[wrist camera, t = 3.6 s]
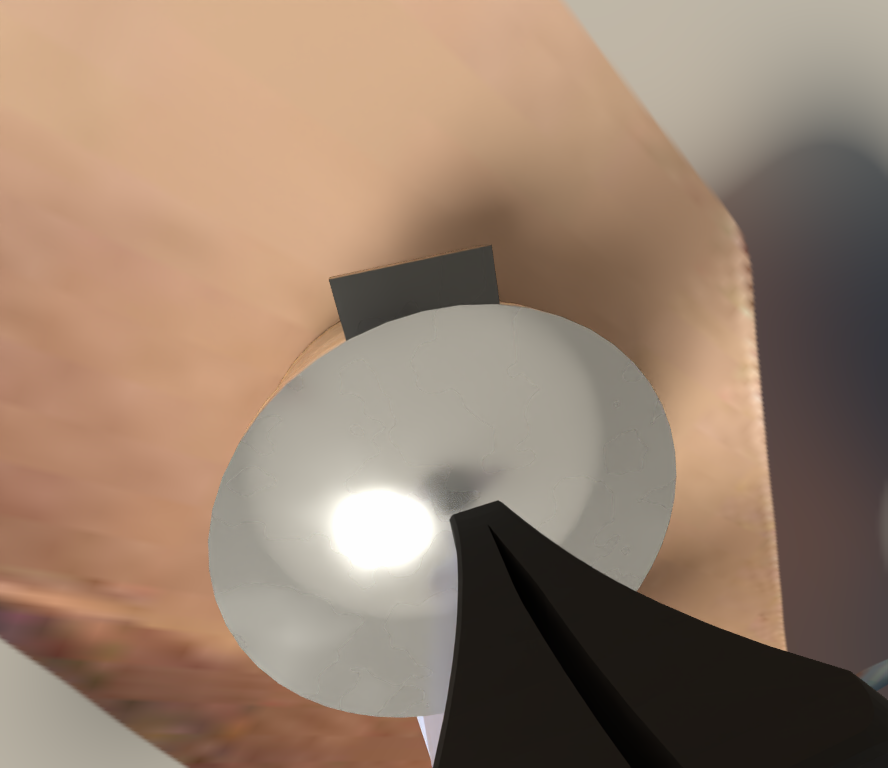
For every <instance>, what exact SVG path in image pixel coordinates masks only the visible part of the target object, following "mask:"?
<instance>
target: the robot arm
mask: <svg viewBox="0 0 888 768" xmlns="http://www.w3.org/2000/svg"><path fill="white" fill-rule="evenodd" d="M449 521H450V525H451V530H452V534H453V539H454V543H455V547H456V552H457V568H458V600H457V622H456V634H455V644H454V653H453V661H452V668H451V675H450V682H449V688H448V695H447V701H446V706H445V712H444V713H442V714H436V715H430V716H417V719H418V722H419V725H420V728H421V731H422V734H423V737H424V740H425V743H426V746H427V749H428V752H429V755H430V758H431V763H432V768H888V700H887V699H886V698H885V697H883V696H882V695H881V694H879V693H878V692H877V691H876V690H874V689H873V688H872V687H870V686H869V685H868V684H866V683H865V682H864V681H863V680H861V679H860V678H859V677H857V676H856V675H855V674H853V673H852V672H851V671H848V670H845V669H842V668H838V667H835V666H832V665H829V664H825V663H822V662H819V661H816V660H812V659H809V658H806V657H803V656H799V655H796V654H793V653H790V652H786V651H783V650H780V649H777V648H773V647H770V646H767V645H765V644H762V643H759V642H756V641H753V640H751V639H748V638H745V637H742V636H740V635H737V634H734V633H731V632H729V631H726V630H723V629H720V628H718V627H715V626H713V625H710V624H708V623H705V622H703V621H701V620H698V619H696V618H694V617H691V616H689V615H687V614H684V613H682V612H680V611H677V610H675V609H673V608H670V607H668V606H666V605H663V604H661V603H659V602H657V601H655V600H653V599H651V598H648V597H646V596H644V595H642V594H640V593H638V592H636V591H634V590H633V589H631V588H629V587H627V586H625V585H623V584H621V583H619V582H617V581H616V580H614V579H612V578H610V577H608V576H607V575H605V574H603V573H601V572H600V571H598V570H596V569H595V568H593V567H591V566H590V565H588V564H587V563H585V562H583V561H582V560H580V559H578V558H577V557H575V556H574V555H572V554H571V553H569V552H568V551H566V550H565V549H563V548H562V547H560V546H559V545H557V544H556V543H555V542H553V541H552V540H550V539H549V538H547V537H546V536H545V535H543V534H542V533H540V532H539V531H538V530H536V529H535V528H534V527H532V526H531V525H530V524H528V523H527V522H526V521H525V520H523V519H522V518H521V517H519V516H518V515H517V514H516V513H514V512H513V511H512V510H511V509H510V508H508V507H507V506H506V505H505V504H504V503H502V502H500V501H499V500H497V501H494V502H491V503H487V504H484V505H481V506H478V507H475V508H472V509H469V510H465V511H462V512H459V513H456V514H453V515H452V516H451V518H450V519H449Z"/></svg>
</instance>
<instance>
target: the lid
mask: <svg viewBox="0 0 888 768" xmlns="http://www.w3.org/2000/svg"><path fill="white" fill-rule="evenodd" d="M329 282H330V285H331V289H332V293H333V296H334V300H335V303H336V307H337V310H338V314H339V317H340V321H341V325H342V328H343V332H344V335H343V336H342V337H340V338H339V339H337V340H335V341H334V342H332V343H330V344H329V345H327V346H326V347H324V348H322V349H321V350H319V351H318V352H317V353H315V354H314V355H313V356H312V357H311V358H309V359H308V360H307V361H306V362H304V363H303V364H302V365H301V366H300V367H298V368H297V369H296V370H295V371H294V372H292V373H291V374H290V375H289V376H288V377H287V378H286V379H285V380H284V382H283V383H282V384H281V385H280V386H279V387H278V388H277V389H276V390H275V391H274V392H273V393H272V395H271V396H270V397H269V398H268V399H267V400H266V401H265V403H264V404H263V406H262V407H261V409H260V410H259V412H258V413H257V414H256V416H255V417H254V419H253V420H252V422H251V423H250V425H249V426H248V427H247V429H246V431H245V433H244V435H243V437H242V439H241V441H240V443H239V445H238V447H237V449H236V451H235V453H234V455H233V457H232V459H231V461H230V463H229V465H228V467H227V469H226V471H225V473H224V475H223V477H222V480H221V484H220V487H219V490H218V493H217V497H216V500H215V503H214V506H213V510H212V517H211V524H210V532H209V539H208V548H209V572H210V576H211V581H212V586H213V590H214V595H215V599H216V602H217V604H218V607H219V609H220V611H221V614H222V616H223V619H224V621H225V623H226V626H227V627H228V629H229V630H230V632H231V633H232V635H233V636H234V638H235V640H236V641H237V643H238V644H239V646H240V647H241V649H242V650H243V651H244V652H245V653H246V654H247V655H248V656H249V657H250V658H251V660H252V661H253V662H254V663H255V664H256V665H257V666H258V667H259V668H260V669H261V670H263V671H264V672H265V673H266V674H268V675H269V676H270V677H271V678H273V679H274V680H275V681H277V682H278V683H279V684H281V685H283V686H284V687H286V688H288V689H290V690H291V691H293V692H295V693H296V694H298V695H300V696H302V697H304V698H307V699H309V700H312V701H314V702H317V703H319V704H321V705H324V706H327V707H331V708H334V709H338V710H342V711H346V712H349V713H356V714H362V715H369V716H377V717H416V716H430V715H436V714H442V713H444V712H445V706H446V701H447V695H448V688H449V682H450V675H451V668H452V661H453V653H454V644H455V634H456V622H457V600H458V568H457V552H456V547H455V543H454V539H453V534H452V530H451V525H450V521H449V519H450V518H451V516H452V515H453V514H456V513H459V512H462V511H465V510H469V509H472V508H475V507H478V506H481V505H484V504H487V503H491V502H494V501H497V500H499V501H500V502H502V503H504V504H505V505H506V506H507V507H508V508H510V509H511V510H512V511H513V512H514V513H516V514H517V515H518V516H519V517H521V518H522V519H523V520H525V521H526V522H527V523H528V524H530V525H531V526H532V527H534V528H535V529H536V530H538V531H539V532H540V533H542V534H543V535H545V536H546V537H547V538H549V539H550V540H552V541H553V542H555V543H556V544H557V545H559V546H560V547H562V548H563V549H565V550H566V551H568V552H569V553H571V554H572V555H574V556H575V557H577V558H578V559H580V560H582V561H583V562H585V563H587V564H588V565H590V566H591V567H593V568H595V569H596V570H598V571H600V572H601V573H603V574H605V575H607V576H608V577H610V578H612V579H614V580H616V581H617V582H619V583H621V584H623V585H625V586H627V587H629V588H631V589H633V590H634V591H636V592H637V590H638V589H639V587H640V586H641V584H642V582H643V581H644V579H645V577H646V575H647V574H648V572H649V570H650V569H651V567H652V565H653V563H654V561H655V558H656V556H657V554H658V552H659V550H660V548H661V545H662V543H663V540H664V537H665V534H666V531H667V528H668V525H669V521H670V517H671V512H672V507H673V503H674V496H675V484H676V461H675V449H674V444H673V439H672V434H671V429H670V425H669V423H668V420H667V417H666V414H665V412H664V409H663V406H662V404H661V402H660V400H659V399H658V397H657V395H656V393H655V391H654V389H653V388H652V386H651V384H650V383H649V381H648V380H647V379H646V377H645V376H644V375H643V374H642V372H641V371H640V370H639V369H638V367H637V366H636V365H635V364H634V362H632V361H631V360H630V359H629V358H628V357H627V356H626V355H625V354H624V353H623V352H621V351H620V350H619V349H618V348H617V347H616V346H615V345H614V344H612V343H611V342H609V341H608V340H606V339H604V338H603V337H601V336H600V335H598V334H597V333H595V332H594V331H592V330H590V329H589V328H586V327H584V326H582V325H579V324H577V323H575V322H573V321H570V320H568V319H566V318H564V317H561V316H558V315H555V314H551V313H548V312H545V311H541V310H538V309H534V308H530V307H526V306H523V305H519V304H514V303H506V302H499V295H498V288H497V281H496V273H495V266H494V259H493V252H492V245H480V246H475V247H470V248H465V249H461V250H456V251H451V252H447V253H442V254H437V255H432V256H428V257H423V258H418V259H414V260H409V261H404V262H399V263H395V264H390V265H385V266H381V267H376V268H371V269H366V270H362V271H357V272H352V273H348V274H343V275H338V276H333V277H330V278H329Z"/></svg>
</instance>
